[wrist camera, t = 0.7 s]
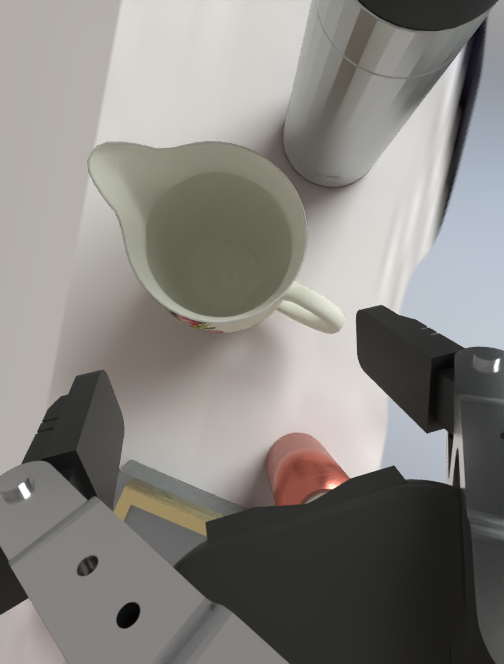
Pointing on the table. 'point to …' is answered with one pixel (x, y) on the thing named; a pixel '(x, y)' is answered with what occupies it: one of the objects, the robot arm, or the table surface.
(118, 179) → the pitcher
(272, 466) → the spout can
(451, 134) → the table surface
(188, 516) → the grey tray
